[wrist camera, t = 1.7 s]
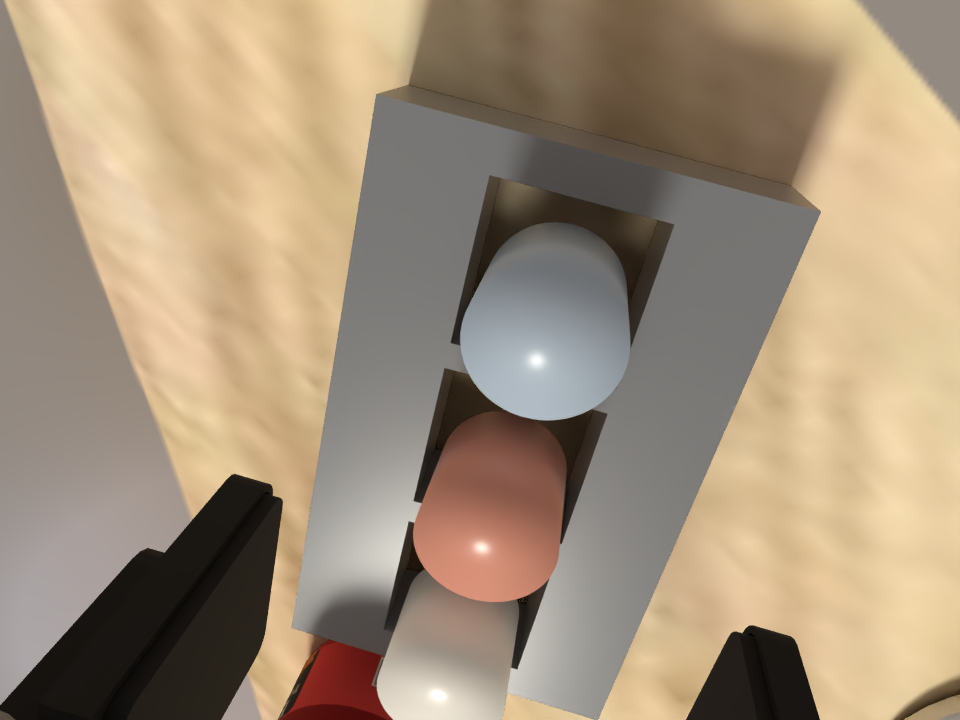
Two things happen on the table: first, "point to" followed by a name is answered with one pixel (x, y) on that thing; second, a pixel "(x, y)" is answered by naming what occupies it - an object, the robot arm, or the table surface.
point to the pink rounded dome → (494, 508)
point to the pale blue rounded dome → (549, 323)
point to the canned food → (337, 686)
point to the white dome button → (448, 656)
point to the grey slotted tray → (437, 354)
